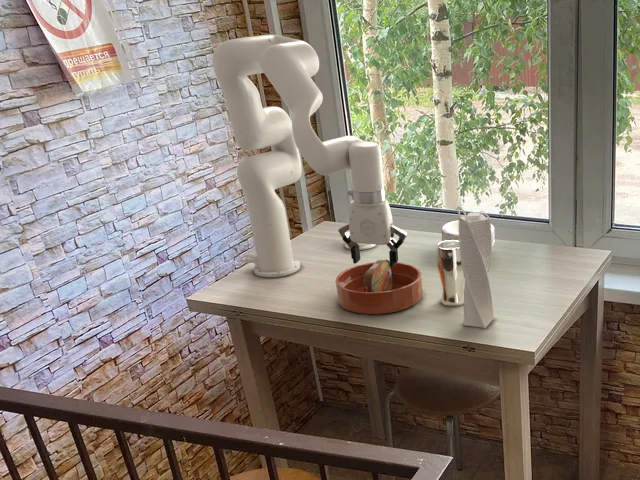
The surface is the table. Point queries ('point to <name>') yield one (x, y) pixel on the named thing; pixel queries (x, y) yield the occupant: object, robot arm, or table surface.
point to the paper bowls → (457, 231)
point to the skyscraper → (476, 267)
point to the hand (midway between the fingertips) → (375, 263)
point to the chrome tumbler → (450, 272)
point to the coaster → (360, 245)
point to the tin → (378, 277)
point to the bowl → (397, 299)
